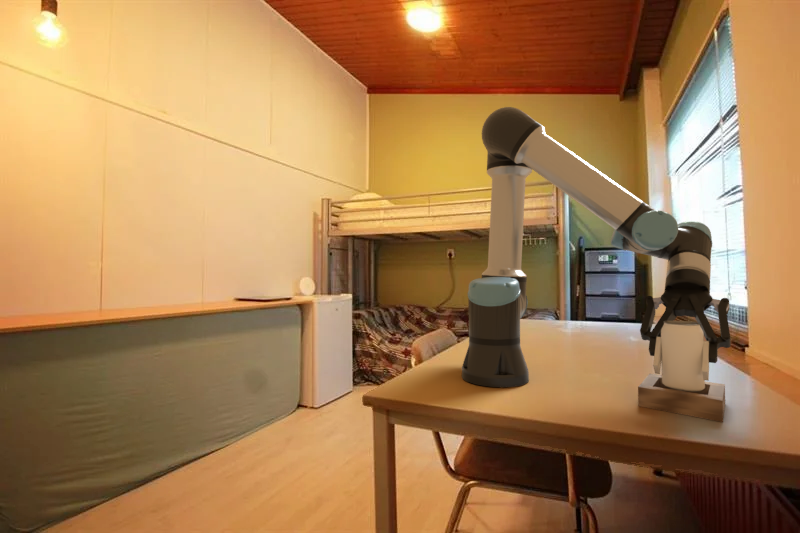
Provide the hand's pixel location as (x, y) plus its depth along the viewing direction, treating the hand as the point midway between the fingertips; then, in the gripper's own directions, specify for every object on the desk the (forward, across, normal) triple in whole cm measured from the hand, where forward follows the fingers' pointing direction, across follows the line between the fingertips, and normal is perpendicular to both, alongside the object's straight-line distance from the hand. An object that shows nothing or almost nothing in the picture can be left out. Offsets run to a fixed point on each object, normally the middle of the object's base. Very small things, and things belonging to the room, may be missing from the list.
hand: (680, 372), depth 70 cm
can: (0, 0, -5) cm, 5 cm away
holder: (+2, 0, -7) cm, 7 cm away
